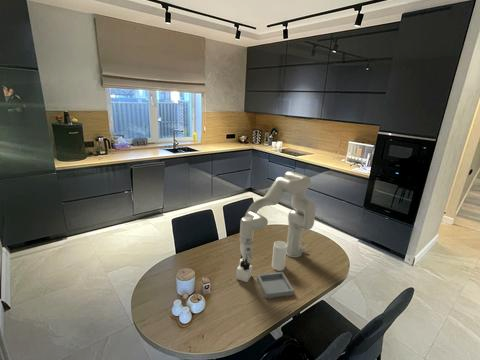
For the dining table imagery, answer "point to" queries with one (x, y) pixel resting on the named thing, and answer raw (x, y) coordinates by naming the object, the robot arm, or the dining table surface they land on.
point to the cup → (279, 255)
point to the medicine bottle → (243, 272)
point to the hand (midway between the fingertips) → (244, 265)
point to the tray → (275, 285)
